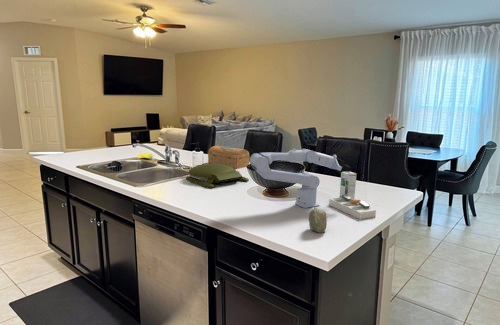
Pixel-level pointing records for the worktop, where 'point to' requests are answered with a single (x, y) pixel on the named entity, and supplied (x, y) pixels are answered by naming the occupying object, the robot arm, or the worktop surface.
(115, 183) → the worktop surface
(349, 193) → the syrup box
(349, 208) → the white tray
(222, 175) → the folded olive dish cloth
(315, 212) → the mottled olive rock
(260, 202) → the worktop surface
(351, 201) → the rocker
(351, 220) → the worktop surface
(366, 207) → the rocker
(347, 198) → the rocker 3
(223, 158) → the wooden box
